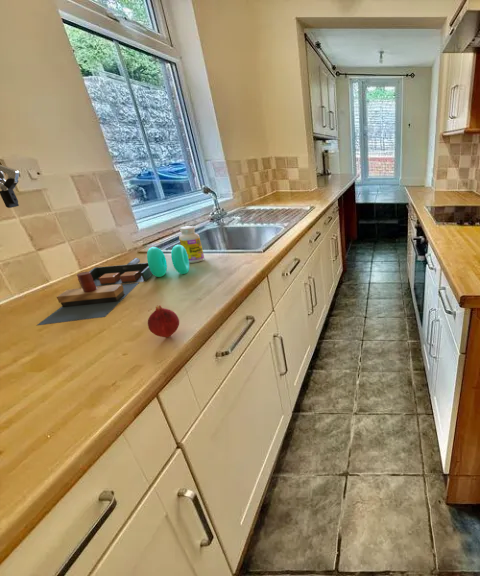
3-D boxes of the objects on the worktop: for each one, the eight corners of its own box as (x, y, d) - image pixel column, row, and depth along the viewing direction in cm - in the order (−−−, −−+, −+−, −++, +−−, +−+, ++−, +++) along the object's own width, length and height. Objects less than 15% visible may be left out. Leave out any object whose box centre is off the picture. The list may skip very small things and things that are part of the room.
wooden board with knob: (61, 307, 85) (47, 279, 82) (72, 300, 90) (59, 272, 86) (117, 301, 89) (107, 274, 85) (125, 294, 93) (115, 267, 90)
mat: (36, 326, 77) (36, 325, 77) (87, 288, 98) (86, 287, 97) (105, 317, 81) (105, 316, 81) (140, 283, 101) (139, 282, 101)
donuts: (187, 277, 106) (179, 248, 102) (152, 281, 102) (142, 252, 98) (191, 267, 114) (184, 240, 110) (159, 271, 111) (150, 244, 107)
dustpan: (145, 282, 102) (142, 272, 101) (81, 288, 98) (77, 278, 96) (165, 262, 120) (162, 253, 119) (111, 266, 115) (108, 258, 114)
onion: (188, 334, 74) (179, 303, 70) (161, 346, 69) (150, 314, 66) (174, 327, 76) (165, 297, 73) (148, 339, 72) (136, 307, 68)
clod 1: (100, 284, 100) (98, 278, 99) (107, 279, 104) (104, 273, 103) (115, 282, 101) (113, 276, 100) (121, 278, 105) (119, 272, 104)
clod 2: (121, 282, 101) (119, 276, 101) (127, 277, 105) (125, 271, 104) (136, 280, 102) (134, 275, 102) (141, 276, 106) (139, 270, 105)
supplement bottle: (191, 264, 117) (182, 230, 112) (181, 261, 121) (172, 228, 115) (208, 259, 123) (200, 226, 117) (198, 256, 126) (190, 224, 121)
